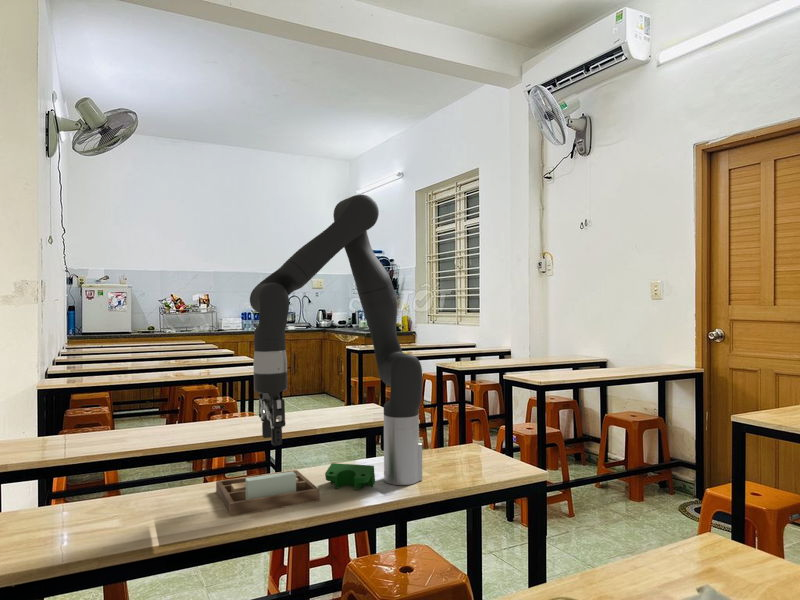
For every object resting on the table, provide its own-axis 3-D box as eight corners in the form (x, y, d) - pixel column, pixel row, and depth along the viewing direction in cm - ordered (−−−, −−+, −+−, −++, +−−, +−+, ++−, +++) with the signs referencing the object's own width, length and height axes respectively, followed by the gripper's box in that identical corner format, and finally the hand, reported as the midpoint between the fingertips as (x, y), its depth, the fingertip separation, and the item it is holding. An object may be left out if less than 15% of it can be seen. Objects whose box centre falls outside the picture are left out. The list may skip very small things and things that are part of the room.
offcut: (256, 492, 134) (256, 480, 134) (260, 497, 130) (260, 484, 130) (231, 496, 131) (231, 484, 131) (234, 502, 128) (234, 488, 128)
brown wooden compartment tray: (296, 483, 144) (296, 469, 144) (319, 504, 128) (319, 489, 128) (216, 495, 135) (216, 481, 135) (230, 520, 119) (229, 504, 119)
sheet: (245, 505, 125) (293, 496, 131) (248, 508, 123) (296, 499, 129) (245, 478, 126) (292, 471, 131) (247, 481, 123) (296, 473, 129)
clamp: (334, 509, 138) (317, 477, 137) (342, 495, 143) (326, 465, 142) (375, 495, 134) (358, 462, 133) (382, 481, 140) (365, 450, 139)
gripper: (295, 372, 123) (297, 445, 123) (278, 366, 136) (279, 433, 135) (261, 374, 120) (263, 450, 119) (247, 368, 132) (248, 437, 132)
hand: (272, 441), depth 127 cm, fingers open, 8 cm apart
